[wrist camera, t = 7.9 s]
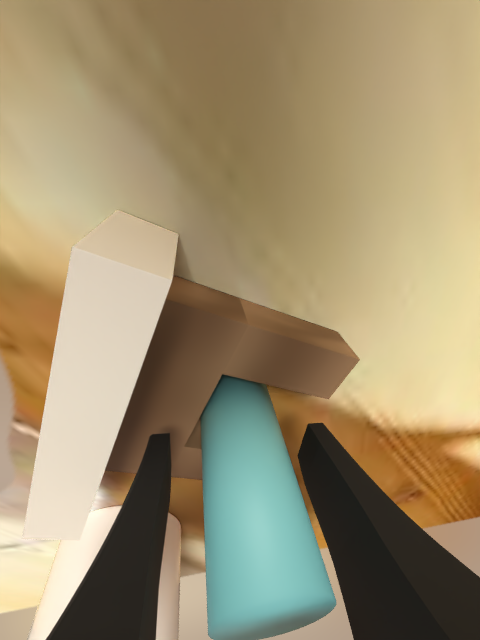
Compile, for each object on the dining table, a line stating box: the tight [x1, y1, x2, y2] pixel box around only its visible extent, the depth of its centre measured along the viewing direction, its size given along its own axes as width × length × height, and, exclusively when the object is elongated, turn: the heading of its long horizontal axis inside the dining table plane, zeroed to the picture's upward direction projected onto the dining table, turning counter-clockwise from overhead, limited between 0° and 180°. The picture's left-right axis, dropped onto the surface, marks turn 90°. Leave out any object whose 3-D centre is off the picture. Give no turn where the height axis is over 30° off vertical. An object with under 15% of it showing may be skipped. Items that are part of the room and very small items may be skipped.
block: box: [105, 276, 360, 480], centre depth 12 cm, size 8×9×2 cm
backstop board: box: [22, 210, 179, 540], centre depth 10 cm, size 2×12×4 cm, turn 156°
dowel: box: [200, 374, 336, 640], centre depth 10 cm, size 3×3×8 cm
